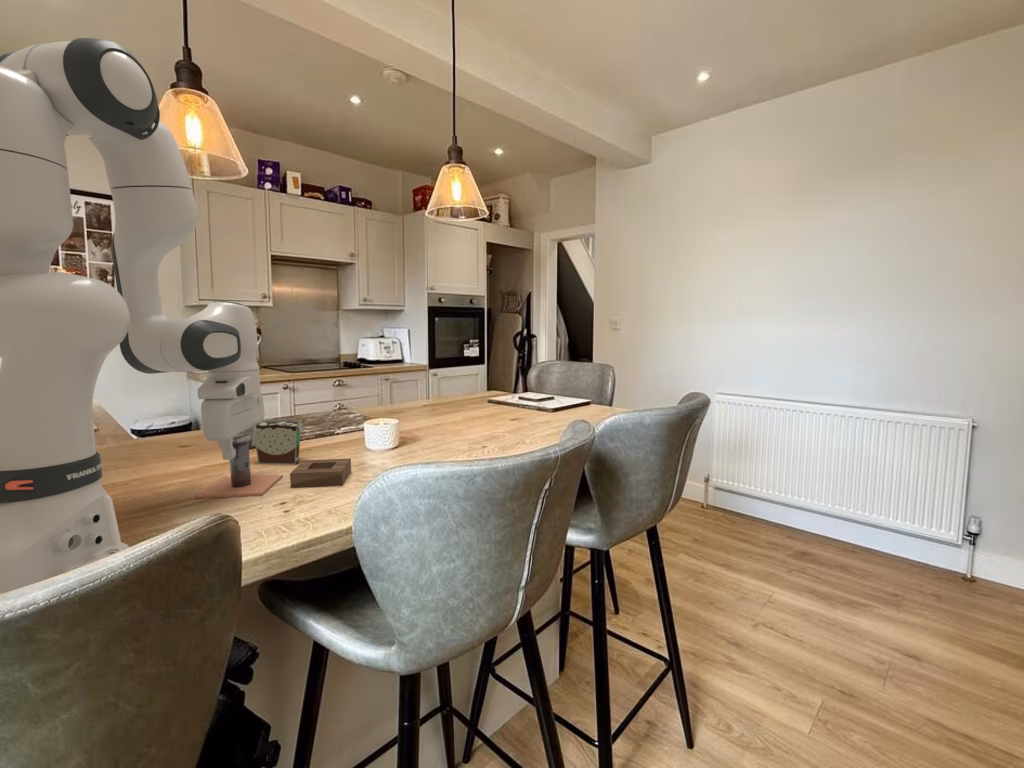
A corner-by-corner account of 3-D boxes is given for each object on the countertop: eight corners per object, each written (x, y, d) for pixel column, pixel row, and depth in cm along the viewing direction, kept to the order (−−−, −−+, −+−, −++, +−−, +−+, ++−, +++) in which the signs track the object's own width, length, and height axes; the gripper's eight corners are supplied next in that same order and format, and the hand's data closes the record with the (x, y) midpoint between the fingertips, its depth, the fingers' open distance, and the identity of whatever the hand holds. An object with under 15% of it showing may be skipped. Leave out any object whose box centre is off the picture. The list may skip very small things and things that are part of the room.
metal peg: (248, 487, 97) (245, 438, 96) (225, 488, 96) (221, 439, 95) (257, 480, 101) (253, 433, 100) (234, 482, 100) (230, 434, 99)
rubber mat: (262, 495, 94) (262, 492, 94) (195, 498, 92) (195, 496, 92) (282, 476, 105) (282, 474, 105) (223, 479, 104) (223, 477, 104)
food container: (314, 458, 121) (312, 418, 120) (301, 464, 115) (299, 423, 114) (267, 457, 122) (265, 417, 121) (252, 463, 116) (249, 422, 115)
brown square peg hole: (342, 485, 99) (341, 471, 99) (290, 487, 98) (289, 473, 98) (351, 471, 109) (350, 458, 109) (304, 473, 108) (304, 460, 108)
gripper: (239, 379, 106) (243, 441, 108) (192, 391, 86) (197, 467, 88) (270, 379, 107) (273, 440, 109) (230, 390, 87) (235, 465, 88)
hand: (239, 452), depth 98 cm, fingers open, 8 cm apart
